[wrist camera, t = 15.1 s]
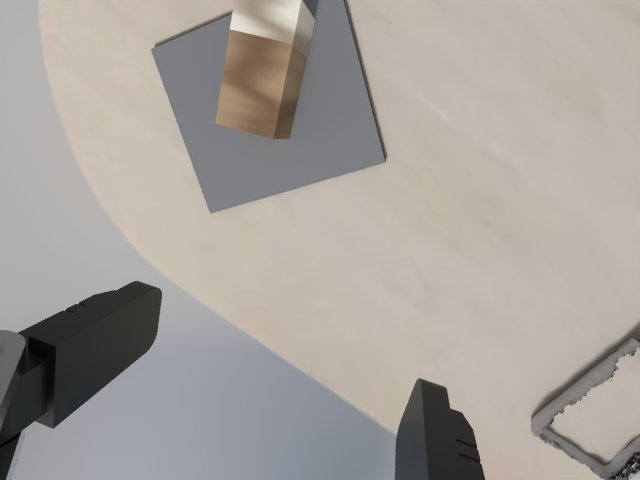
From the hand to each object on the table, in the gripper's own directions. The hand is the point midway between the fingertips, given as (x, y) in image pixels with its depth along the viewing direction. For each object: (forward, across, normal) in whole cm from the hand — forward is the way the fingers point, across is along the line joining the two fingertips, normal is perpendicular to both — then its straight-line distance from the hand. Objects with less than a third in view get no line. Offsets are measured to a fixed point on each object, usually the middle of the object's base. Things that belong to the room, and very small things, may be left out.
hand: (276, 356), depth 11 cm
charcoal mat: (+26, +11, -7) cm, 29 cm away
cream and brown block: (+22, +11, -4) cm, 25 cm away
